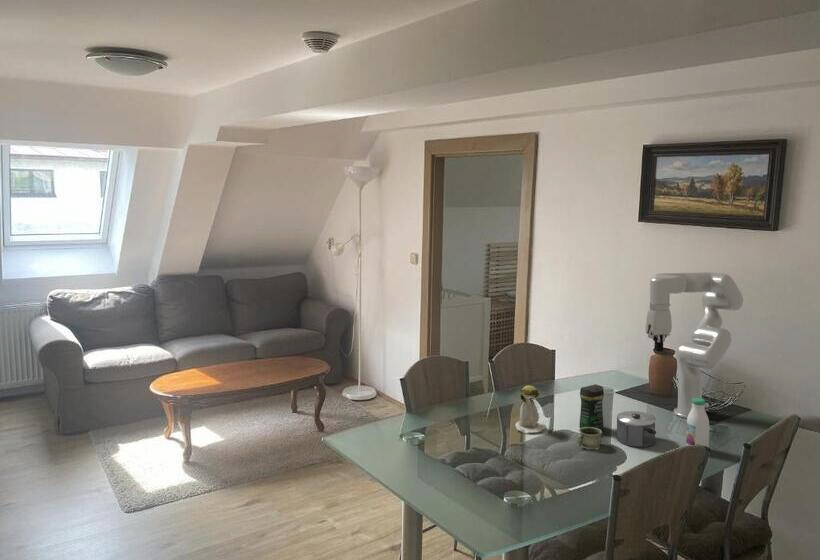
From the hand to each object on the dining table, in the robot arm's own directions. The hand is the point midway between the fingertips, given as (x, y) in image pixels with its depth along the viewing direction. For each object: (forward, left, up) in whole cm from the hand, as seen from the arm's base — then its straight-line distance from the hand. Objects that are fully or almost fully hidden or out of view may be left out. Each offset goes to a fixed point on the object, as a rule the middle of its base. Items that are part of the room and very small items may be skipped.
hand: (658, 350), depth 257 cm
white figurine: (+48, -22, -32) cm, 62 cm away
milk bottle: (+6, +26, -32) cm, 42 cm away
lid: (+19, +8, -24) cm, 31 cm away
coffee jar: (+26, -10, -32) cm, 43 cm away
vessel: (+38, +4, -32) cm, 50 cm away
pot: (+19, +8, -32) cm, 38 cm away
